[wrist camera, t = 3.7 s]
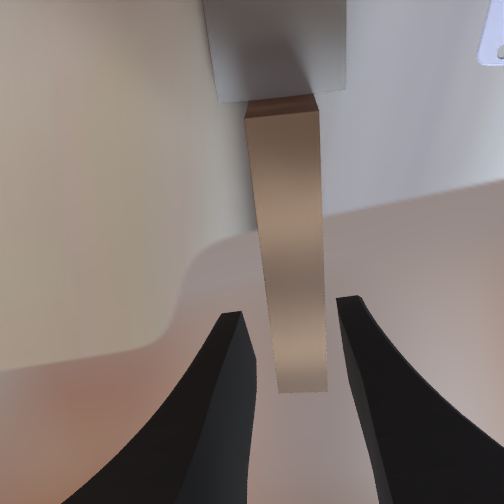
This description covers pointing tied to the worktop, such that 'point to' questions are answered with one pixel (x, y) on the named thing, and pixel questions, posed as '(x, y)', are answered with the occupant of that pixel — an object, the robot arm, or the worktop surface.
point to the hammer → (284, 156)
